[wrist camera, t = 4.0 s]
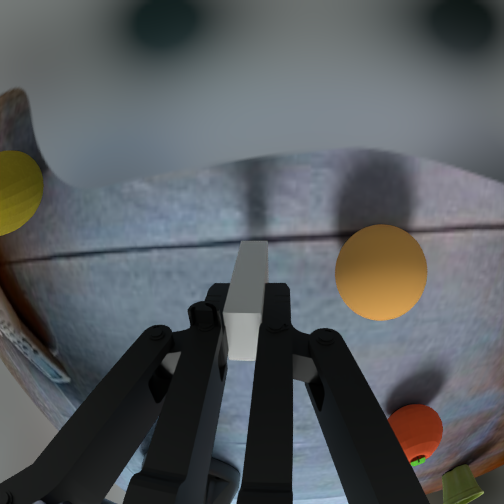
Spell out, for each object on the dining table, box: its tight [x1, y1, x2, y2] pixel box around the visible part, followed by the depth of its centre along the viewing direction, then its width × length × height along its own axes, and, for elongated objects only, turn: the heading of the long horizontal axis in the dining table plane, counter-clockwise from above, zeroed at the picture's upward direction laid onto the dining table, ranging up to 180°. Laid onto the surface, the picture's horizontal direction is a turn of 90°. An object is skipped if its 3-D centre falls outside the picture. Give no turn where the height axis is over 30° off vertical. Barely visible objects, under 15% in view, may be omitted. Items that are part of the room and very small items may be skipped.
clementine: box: [387, 404, 443, 466], centre depth 25 cm, size 8×7×7 cm
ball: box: [335, 224, 427, 321], centre depth 17 cm, size 6×6×6 cm
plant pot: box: [442, 464, 484, 504], centre depth 35 cm, size 9×9×9 cm
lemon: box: [0, 150, 44, 236], centre depth 15 cm, size 6×6×8 cm
